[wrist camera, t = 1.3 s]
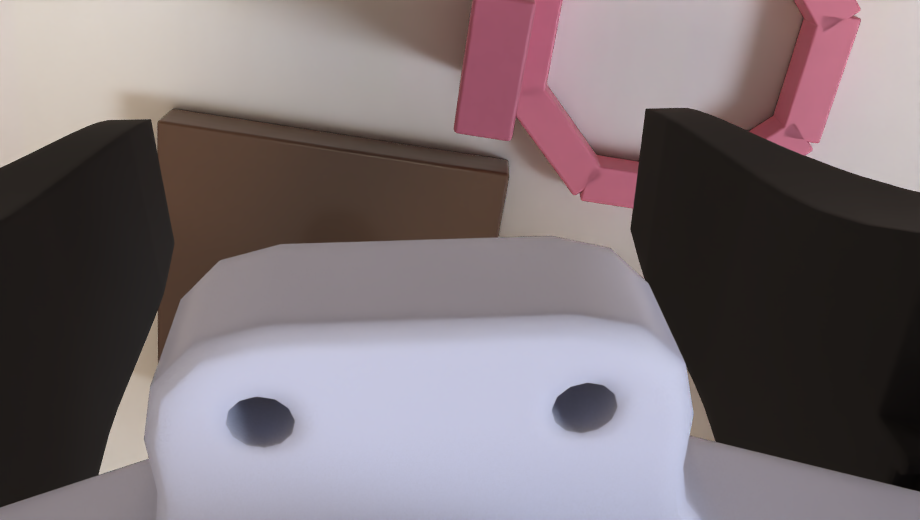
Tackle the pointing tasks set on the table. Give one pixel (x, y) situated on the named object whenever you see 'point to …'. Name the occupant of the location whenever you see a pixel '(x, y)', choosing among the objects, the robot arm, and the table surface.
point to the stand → (308, 193)
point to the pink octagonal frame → (535, 106)
